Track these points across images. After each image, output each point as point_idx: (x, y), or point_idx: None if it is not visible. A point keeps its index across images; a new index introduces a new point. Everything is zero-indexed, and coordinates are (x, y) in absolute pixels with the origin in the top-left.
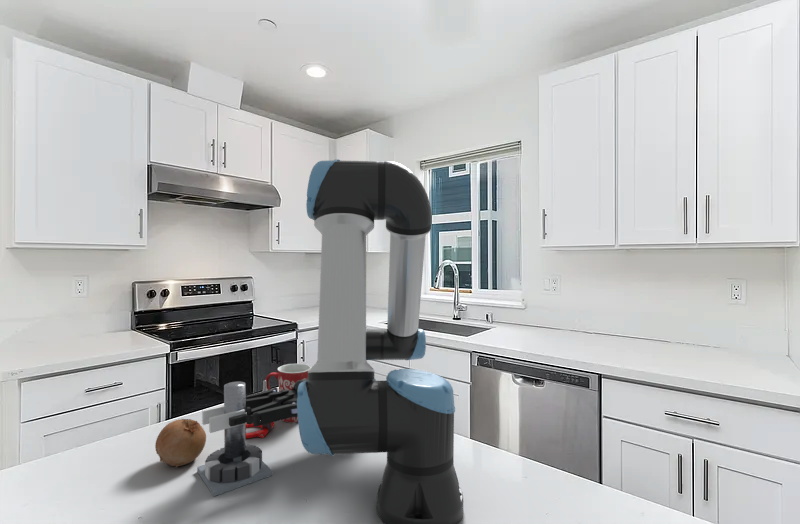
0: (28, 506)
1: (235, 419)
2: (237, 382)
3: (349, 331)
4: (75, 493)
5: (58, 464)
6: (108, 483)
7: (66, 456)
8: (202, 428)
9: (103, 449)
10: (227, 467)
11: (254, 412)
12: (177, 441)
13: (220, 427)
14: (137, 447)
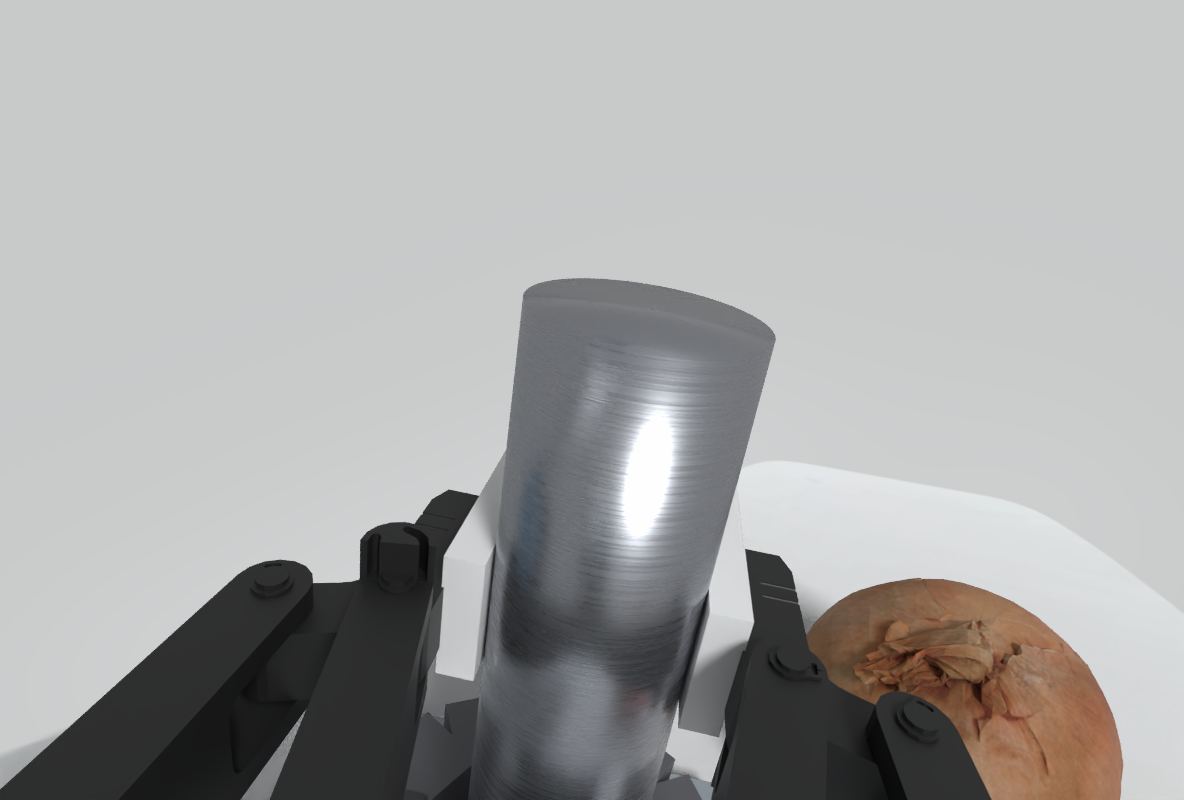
0: (798, 479)
1: (424, 513)
2: (718, 341)
3: None
4: (809, 531)
5: (1055, 564)
6: (826, 583)
7: (1124, 590)
8: None
9: (1175, 666)
10: (427, 745)
11: (307, 581)
12: (824, 617)
13: None
14: (1176, 752)
